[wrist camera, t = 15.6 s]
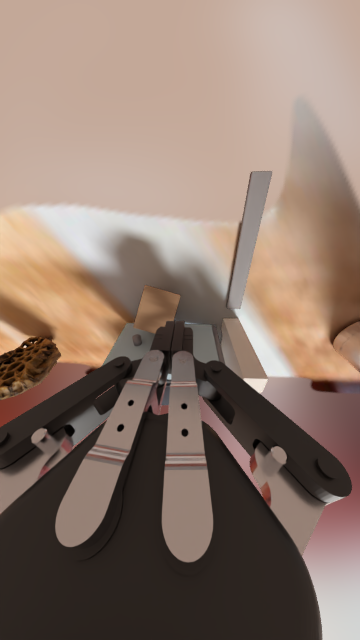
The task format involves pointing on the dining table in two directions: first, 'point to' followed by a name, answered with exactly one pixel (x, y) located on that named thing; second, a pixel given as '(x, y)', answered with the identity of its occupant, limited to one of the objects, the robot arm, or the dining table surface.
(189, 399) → the robot arm
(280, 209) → the dining table surface
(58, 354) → the brown wasp nest
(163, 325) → the block
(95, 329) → the dining table surface
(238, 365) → the door frame
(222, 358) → the door
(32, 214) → the dining table surface
